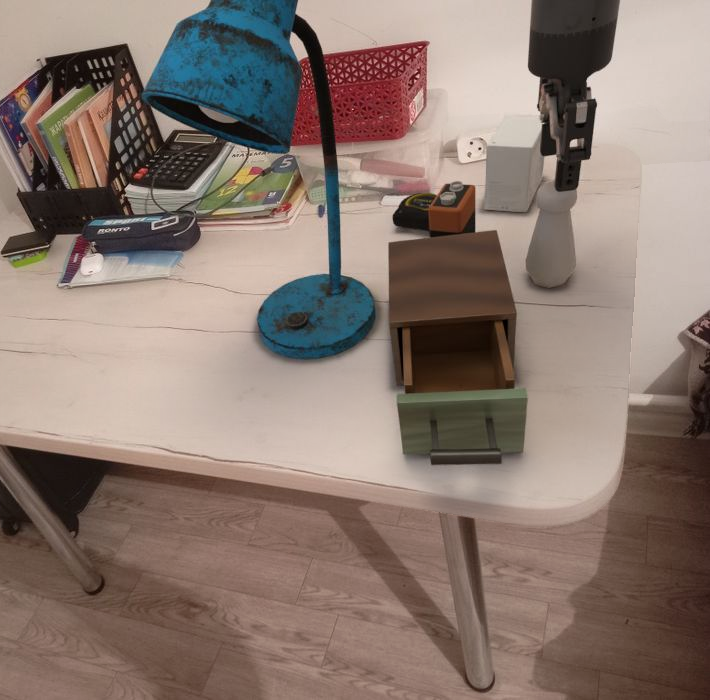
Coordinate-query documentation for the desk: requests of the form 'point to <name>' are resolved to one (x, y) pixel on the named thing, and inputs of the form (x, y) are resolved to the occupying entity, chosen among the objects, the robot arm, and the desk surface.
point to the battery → (453, 210)
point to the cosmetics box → (514, 164)
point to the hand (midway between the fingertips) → (557, 170)
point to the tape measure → (414, 212)
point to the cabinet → (448, 286)
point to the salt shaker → (552, 238)
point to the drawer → (460, 394)
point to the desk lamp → (266, 146)
